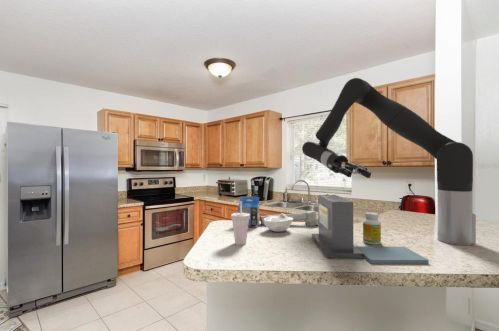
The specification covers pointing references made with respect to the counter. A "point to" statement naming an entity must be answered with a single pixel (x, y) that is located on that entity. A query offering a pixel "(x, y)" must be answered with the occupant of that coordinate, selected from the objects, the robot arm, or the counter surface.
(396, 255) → the mat
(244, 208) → the label tape box
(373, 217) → the supplement bottle
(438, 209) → the robot arm
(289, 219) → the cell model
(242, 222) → the smoothie
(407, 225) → the counter surface
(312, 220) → the grey knobbed handle
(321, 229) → the mounted unit
